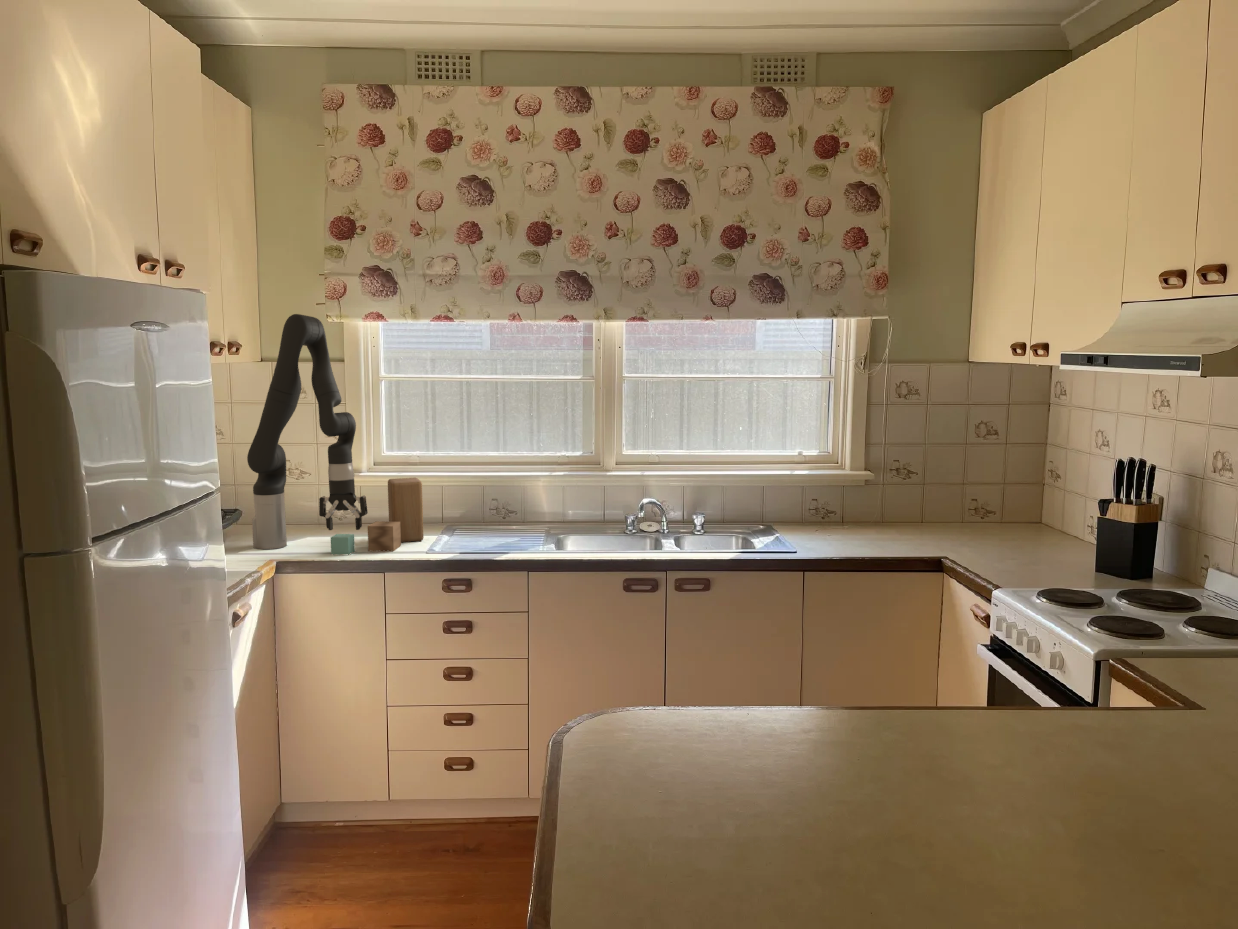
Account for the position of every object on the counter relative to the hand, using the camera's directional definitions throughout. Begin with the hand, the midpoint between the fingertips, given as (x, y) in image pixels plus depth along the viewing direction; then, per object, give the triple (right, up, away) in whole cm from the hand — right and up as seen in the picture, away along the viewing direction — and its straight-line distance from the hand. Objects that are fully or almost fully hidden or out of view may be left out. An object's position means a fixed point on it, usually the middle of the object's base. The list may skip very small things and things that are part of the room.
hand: (344, 529), depth 285 cm
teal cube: (-1, -7, 0) cm, 7 cm away
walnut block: (+11, -7, +7) cm, 14 cm away
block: (+14, -5, +21) cm, 26 cm away
